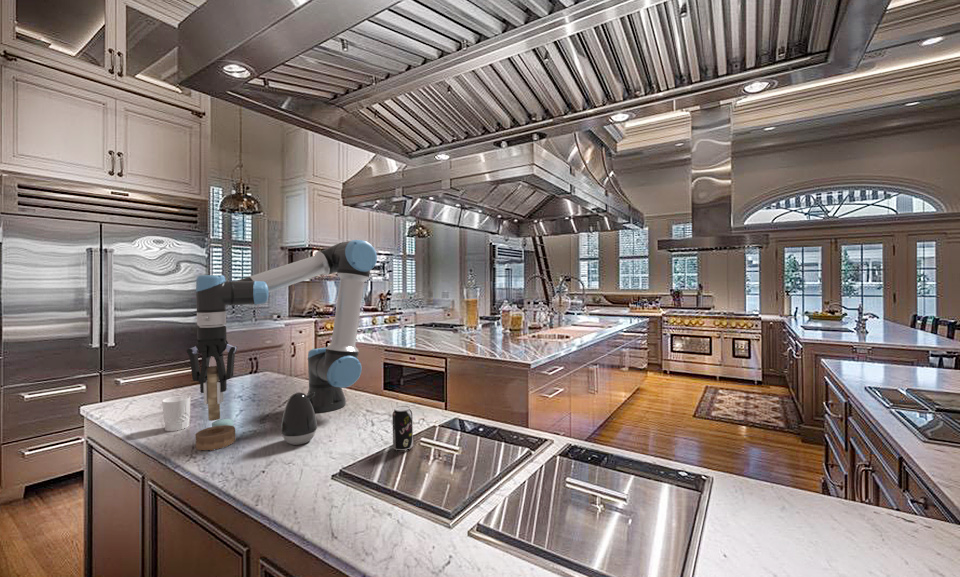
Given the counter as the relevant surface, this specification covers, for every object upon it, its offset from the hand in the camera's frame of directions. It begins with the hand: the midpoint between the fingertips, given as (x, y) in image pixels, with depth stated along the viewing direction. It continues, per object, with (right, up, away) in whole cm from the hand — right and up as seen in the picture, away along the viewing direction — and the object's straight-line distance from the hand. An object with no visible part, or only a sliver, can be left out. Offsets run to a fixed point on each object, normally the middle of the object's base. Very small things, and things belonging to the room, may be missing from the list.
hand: (213, 402), depth 130 cm
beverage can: (+59, -12, -5) cm, 60 cm away
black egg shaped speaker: (+26, -13, +1) cm, 29 cm away
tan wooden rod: (0, -5, 0) cm, 5 cm away
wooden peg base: (0, -13, 0) cm, 13 cm away
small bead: (-4, -13, +11) cm, 17 cm away
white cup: (-22, -13, +15) cm, 30 cm away
